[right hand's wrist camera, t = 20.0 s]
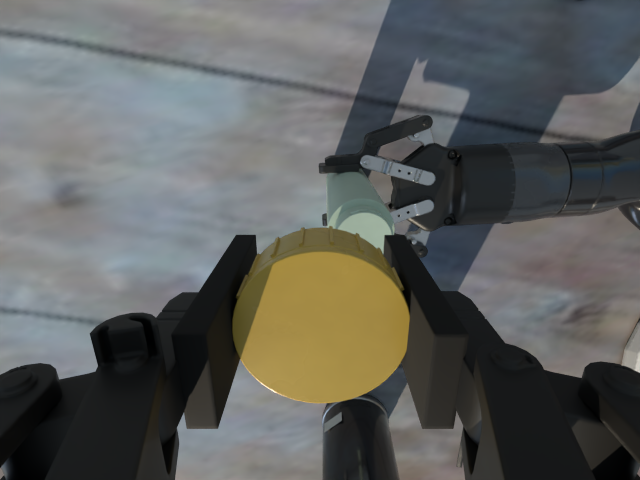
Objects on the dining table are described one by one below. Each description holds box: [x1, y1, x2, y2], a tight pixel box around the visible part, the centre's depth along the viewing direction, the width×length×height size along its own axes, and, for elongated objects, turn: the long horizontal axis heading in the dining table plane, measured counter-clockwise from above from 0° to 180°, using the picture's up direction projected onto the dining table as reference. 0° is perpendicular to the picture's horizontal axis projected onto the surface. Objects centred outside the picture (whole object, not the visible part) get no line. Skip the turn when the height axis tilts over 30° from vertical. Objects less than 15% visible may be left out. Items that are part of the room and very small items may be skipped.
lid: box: [232, 226, 410, 403], centre depth 11 cm, size 5×5×2 cm
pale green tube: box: [326, 169, 395, 253], centre depth 32 cm, size 4×4×20 cm
